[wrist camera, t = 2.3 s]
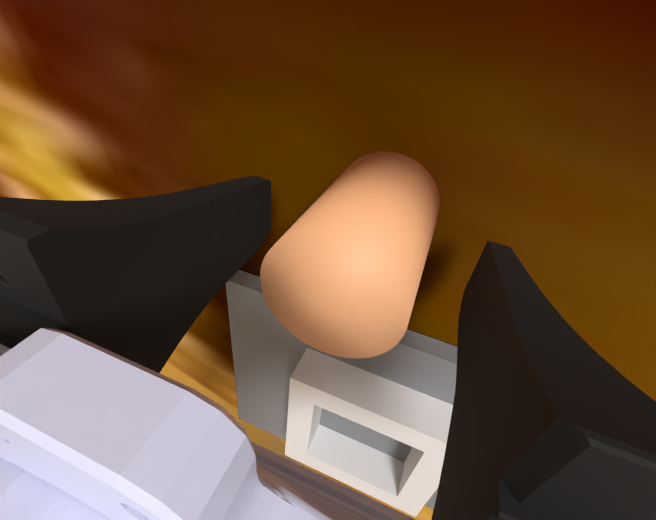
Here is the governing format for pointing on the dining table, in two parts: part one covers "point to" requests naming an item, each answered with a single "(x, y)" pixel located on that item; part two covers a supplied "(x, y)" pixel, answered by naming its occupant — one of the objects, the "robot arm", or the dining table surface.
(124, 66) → the dining table surface
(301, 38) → the dining table surface
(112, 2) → the dining table surface
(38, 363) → the robot arm
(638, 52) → the dining table surface
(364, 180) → the peach rounded egg part
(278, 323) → the dock board
